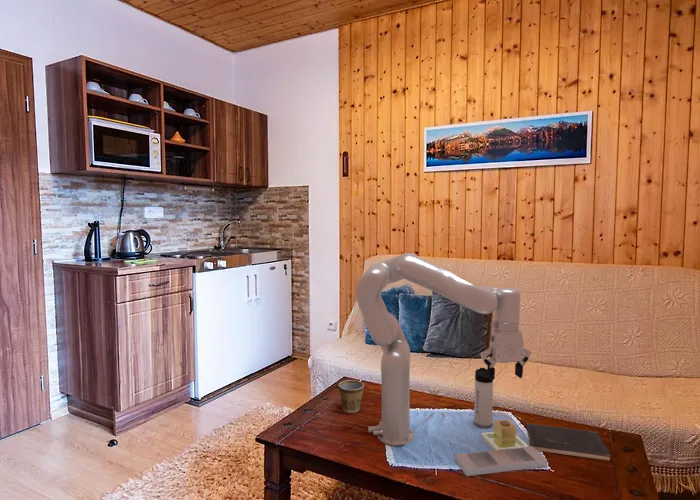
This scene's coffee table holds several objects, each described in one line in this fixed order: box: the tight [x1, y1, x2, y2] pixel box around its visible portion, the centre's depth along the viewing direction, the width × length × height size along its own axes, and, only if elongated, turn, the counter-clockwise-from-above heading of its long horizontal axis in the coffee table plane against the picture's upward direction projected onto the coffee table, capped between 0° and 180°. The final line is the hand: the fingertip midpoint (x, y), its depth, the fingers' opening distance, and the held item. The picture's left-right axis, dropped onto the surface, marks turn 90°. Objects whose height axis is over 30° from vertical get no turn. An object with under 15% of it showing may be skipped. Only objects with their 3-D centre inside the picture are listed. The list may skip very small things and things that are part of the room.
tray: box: [480, 431, 529, 450], centre depth 143 cm, size 11×11×2 cm
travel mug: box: [473, 367, 494, 428], centre depth 157 cm, size 6×7×20 cm
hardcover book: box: [525, 422, 612, 462], centre depth 144 cm, size 16×23×2 cm
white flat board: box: [454, 445, 548, 477], centre depth 132 cm, size 26×8×2 cm, turn 100°
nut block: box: [493, 419, 517, 448], centre depth 142 cm, size 5×5×7 cm
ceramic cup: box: [338, 379, 365, 414], centre depth 171 cm, size 13×10×10 cm
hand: (504, 377), depth 141 cm, fingers open, 9 cm apart
